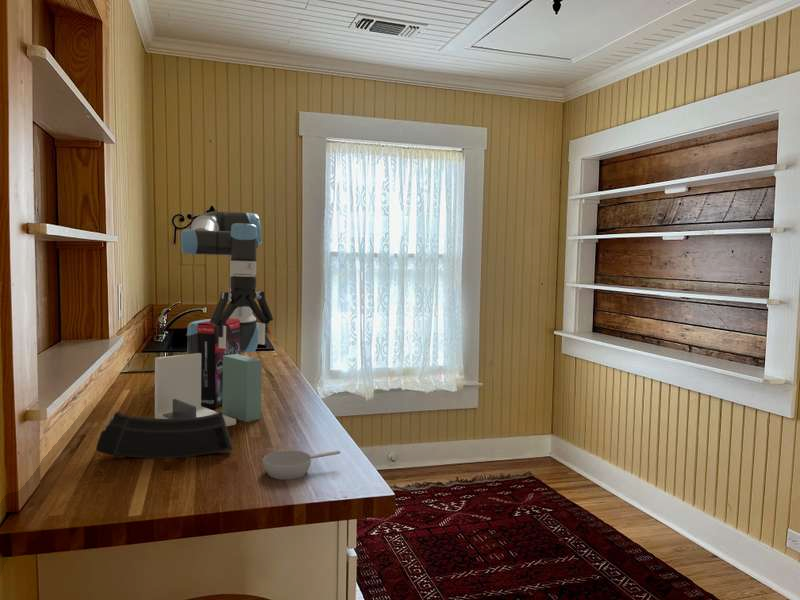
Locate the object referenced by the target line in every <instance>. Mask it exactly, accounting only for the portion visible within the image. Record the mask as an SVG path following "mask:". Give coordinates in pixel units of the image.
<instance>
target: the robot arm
mask: <svg viewBox="0 0 800 600" xmlns="http://www.w3.org/2000/svg"><path fill="white" fill-rule="evenodd" d="M262 243H263V240H262V228H261V221H260V217H259V215H258V214H256V213H254V212H253V213H252V212H243V211H242V212H239V211H236V212H235V211H234V212H233V211H216V210H215V211H208V212H206V213H202V214H200V215H198V216H197V217H196V218H194V219H193V221H192V222H191V224H190V228H189V229H182V231H181V232H180V251H181V253H183V254H184V255H193V256H195V255H211V256H212V255H213V256H230V257H229V265H230V267H229V268H230V269H229V292H227V291H221V292H220V295H219V296H220V297H219V301H218V302H217V304H216V305H217V306H216V307H215V309H214V312H213V314H212V317H211V318H209V319H207V318H206V319H200V320H195V321H192V322H190V323H189V324H188V325H187V332H186V337H187V341H186V342H187V343H186V346H187V347H186V350H187V351H186V354H195V353H198V326H197V325H198V323H201V322H206V321H210V323H211V324H215V325H216V327H217V332H216V335H217V337H219V348H223V349H225V348H226V326H223V325H224V324H225V323H226V321H227V320H228V318H234V319H239V320H240V354H241V353H242V354H247V353H253V352H255V351H256V350H257V348H258V345H263V346H264V345H266V334H267V333H268V324H269V323H270V322H271V321H274V318H273V316H272V313H271V310H270V308H269V306H268V303H267V301H266V296H265V291H260V290H258V291H256V288H257V277H256V275H257V254H258V253H257V250H259V246H260V245H262ZM255 299H257V301H256V300H255ZM228 302H229V303H228ZM257 302H258V303H257ZM258 304H259V305H258ZM226 306H227V307H226ZM253 313H254V314H253ZM254 315H255V316H254ZM256 317H257V318H256ZM257 320H259V322H257Z"/></svg>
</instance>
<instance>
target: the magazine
mask: <svg viewBox="0 0 800 600" xmlns="http://www.w3.org/2000/svg"><path fill="white" fill-rule="evenodd" d="M222 414H223V413H222V411H218V413H217V414H213V415H209V416H204V417H195V418H179V419H156V418H155V417H153V418H152V417H139V416H133V415H130V414H121V413H120V411H116V412H114V415H113V416H112V415H110V416H109V418H108V420H107V422H106V424H105V427H103V429H102V431H101V432H100V436H99V438H98V440H97V445H96V447H95V448H96V451H97V452H99V453H102V454H107V455H111V456H113V458H115V459H116V458H117V457H123V458H124V457H125V458H137V457H139V458H141V459H169V458H170V459H171V458H173V459H174V458H188V457H189V458H190V457H195V456H203V455H208V454H213V453H220V452H225V451H232V450H233V449H234V448H233V444H232V440H231V437H230V433H229V430H228V426H226V423H225V420H224V417H223V415H224V414H223V415H222ZM112 417H113V418H112Z"/></svg>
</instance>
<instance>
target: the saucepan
mask: <svg viewBox="0 0 800 600" xmlns="http://www.w3.org/2000/svg"><path fill="white" fill-rule="evenodd" d="M340 454H341V451H340V450H334V451H329V452H323V453H317V454H315V453H314V454H310V453H308V452H305V451H299V450H293V449H292V450H287V449H286V450H278V451H274V452H270V453H268V454H266V455H264V457H263V462H262V463H263V467H264V470H265V472H266V474H267V475H268V476H269V477H270V476H271V478H272V477H273V479H275V478H276V479H277V480H283V481H285V480H286V479H287V480H295V479H298V478H302V477H303V476H305V475H306V474H307V472H308V470H309V469H310V467H311V462H312V459H317V458H322V457H328V456H334V455H340Z"/></svg>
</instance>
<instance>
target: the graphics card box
mask: <svg viewBox="0 0 800 600" xmlns="http://www.w3.org/2000/svg"><path fill="white" fill-rule="evenodd" d="M197 326H198V353H201V406H202V407H205V408H208V409H210V408H212V409H217V408H218V407H221V406H222V397H223V356H224V355H232V354H240V355H241V353H240V320H239V319H234V318H228V320H227V321H226V323H225V324H224V325H223V326H226V348H225V349H223V348H219V337H217V335H216V332H217V327H216V325H215V324H211V323H210V321H206V322H201V323H198V325H197Z"/></svg>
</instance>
